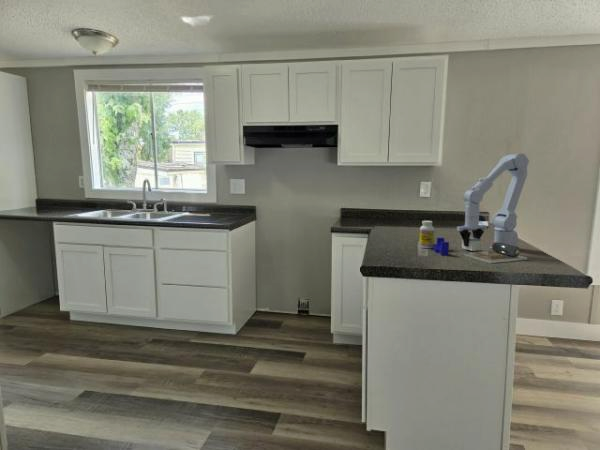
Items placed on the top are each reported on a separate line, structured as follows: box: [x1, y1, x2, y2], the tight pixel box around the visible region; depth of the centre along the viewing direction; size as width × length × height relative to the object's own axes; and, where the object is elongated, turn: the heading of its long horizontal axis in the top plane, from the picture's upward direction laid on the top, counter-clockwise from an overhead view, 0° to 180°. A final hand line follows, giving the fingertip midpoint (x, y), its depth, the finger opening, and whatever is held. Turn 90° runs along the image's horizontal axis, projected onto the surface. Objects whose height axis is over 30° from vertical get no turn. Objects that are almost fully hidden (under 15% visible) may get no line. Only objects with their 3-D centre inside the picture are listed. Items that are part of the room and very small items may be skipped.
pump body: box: [461, 236, 482, 252], centre depth 183 cm, size 4×7×5 cm, turn 16°
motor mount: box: [463, 242, 528, 264], centre depth 169 cm, size 18×16×5 cm
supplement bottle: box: [418, 220, 435, 249], centre depth 192 cm, size 7×7×13 cm
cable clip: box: [432, 237, 450, 256], centre depth 181 cm, size 12×4×6 cm, turn 170°
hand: (470, 245), depth 183 cm, fingers closed on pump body, 4 cm apart
